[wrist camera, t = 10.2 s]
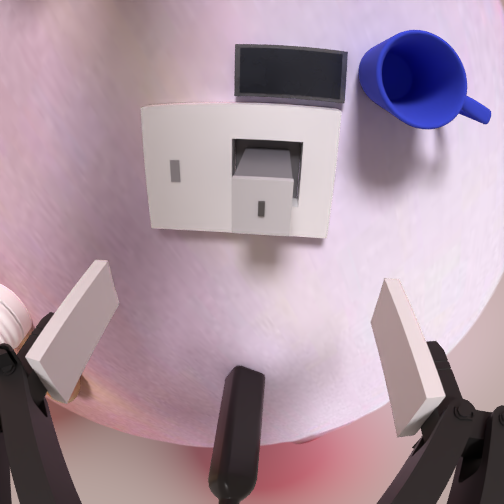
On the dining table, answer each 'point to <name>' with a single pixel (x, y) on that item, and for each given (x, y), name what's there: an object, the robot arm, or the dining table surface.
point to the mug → (419, 81)
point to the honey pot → (12, 318)
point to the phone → (290, 72)
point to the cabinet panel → (223, 160)
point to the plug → (262, 192)
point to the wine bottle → (237, 436)
